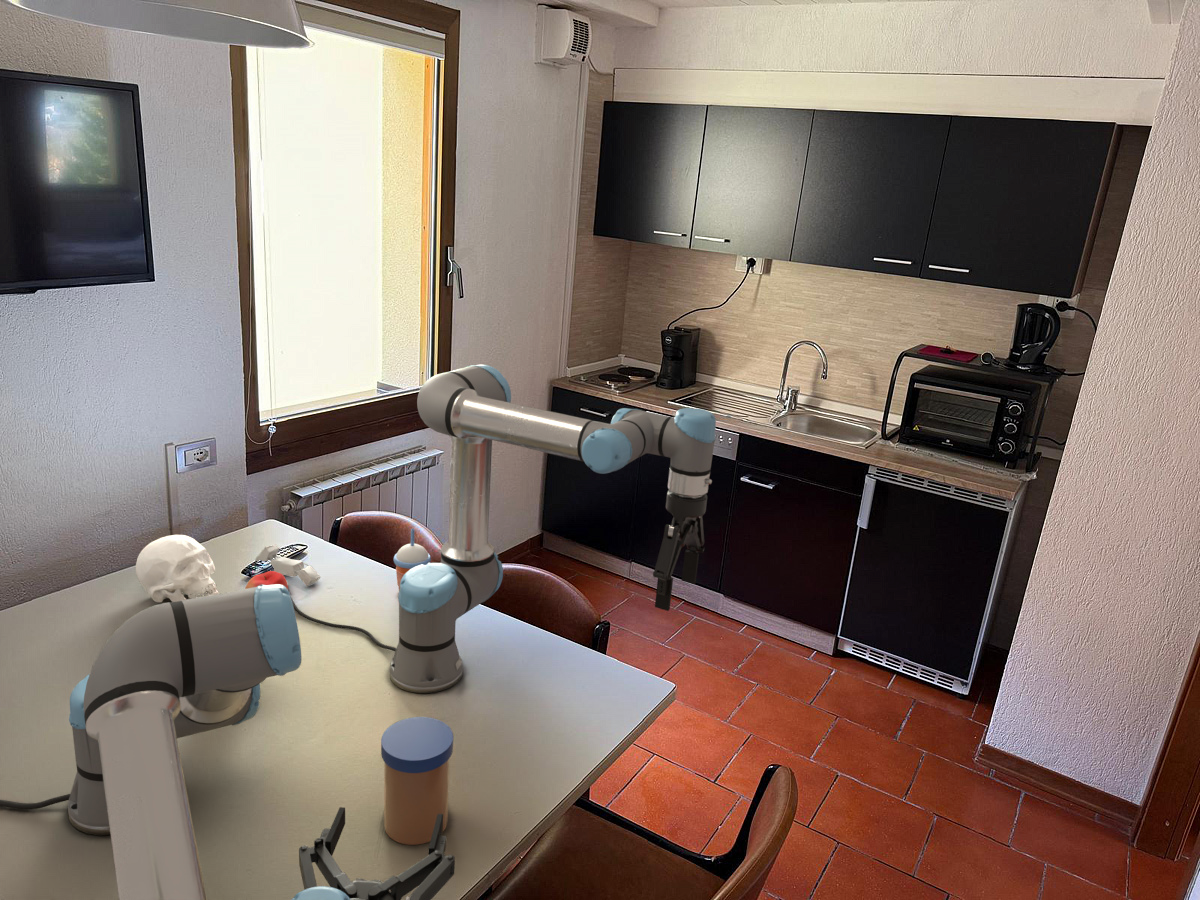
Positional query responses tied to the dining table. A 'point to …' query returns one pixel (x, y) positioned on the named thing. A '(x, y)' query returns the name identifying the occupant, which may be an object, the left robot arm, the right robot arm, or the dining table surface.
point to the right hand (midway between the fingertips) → (675, 594)
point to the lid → (417, 744)
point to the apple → (267, 579)
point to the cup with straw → (410, 558)
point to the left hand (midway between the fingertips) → (391, 818)
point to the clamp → (288, 565)
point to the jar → (414, 803)
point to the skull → (175, 569)
